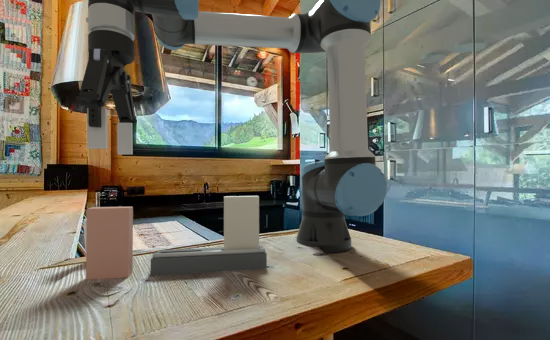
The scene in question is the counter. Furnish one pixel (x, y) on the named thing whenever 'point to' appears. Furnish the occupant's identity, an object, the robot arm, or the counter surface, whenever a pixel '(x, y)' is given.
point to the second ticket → (241, 222)
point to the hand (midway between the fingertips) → (113, 152)
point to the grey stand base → (207, 260)
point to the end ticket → (109, 242)
